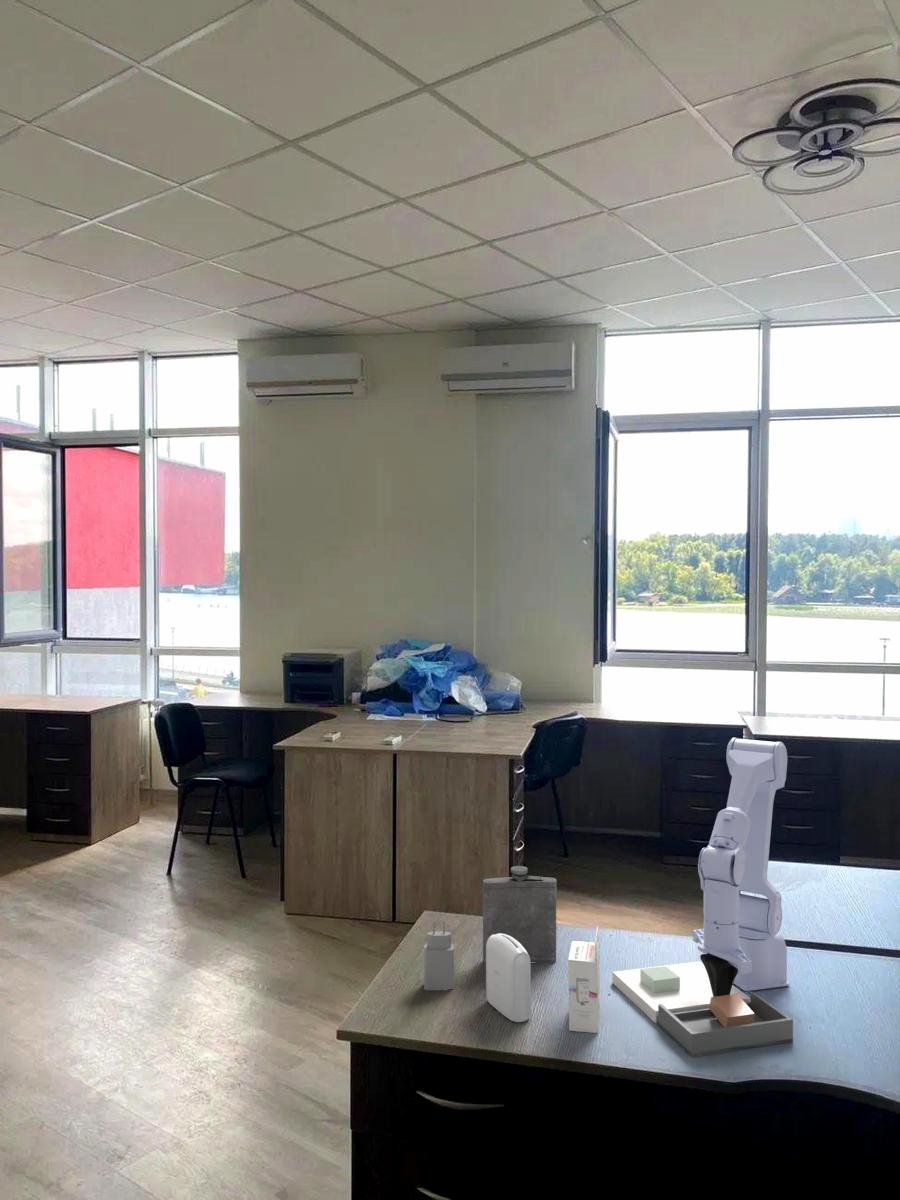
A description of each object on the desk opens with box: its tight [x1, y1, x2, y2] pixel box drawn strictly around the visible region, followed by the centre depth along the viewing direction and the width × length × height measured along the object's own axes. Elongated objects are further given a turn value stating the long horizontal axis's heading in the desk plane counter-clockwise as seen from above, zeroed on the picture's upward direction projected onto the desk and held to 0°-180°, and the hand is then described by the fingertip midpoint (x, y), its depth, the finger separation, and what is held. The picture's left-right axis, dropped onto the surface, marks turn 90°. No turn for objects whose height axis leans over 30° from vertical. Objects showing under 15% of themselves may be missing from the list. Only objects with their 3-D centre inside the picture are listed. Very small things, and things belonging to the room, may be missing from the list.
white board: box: [612, 960, 750, 1024], centre depth 156 cm, size 18×16×2 cm
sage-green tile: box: [639, 965, 680, 993], centre depth 156 cm, size 5×5×2 cm
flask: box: [482, 865, 557, 965], centre depth 171 cm, size 4×14×18 cm, turn 94°
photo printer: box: [485, 933, 532, 1023], centre depth 151 cm, size 10×4×12 cm, turn 26°
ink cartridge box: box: [567, 925, 601, 1034], centre depth 147 cm, size 9×5×15 cm, turn 168°
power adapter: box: [423, 919, 455, 991], centre depth 160 cm, size 3×5×12 cm, turn 91°
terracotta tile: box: [709, 994, 754, 1027], centre depth 146 cm, size 5×5×2 cm
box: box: [655, 991, 794, 1058], centre depth 143 cm, size 18×11×4 cm, turn 106°
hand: (721, 999), depth 149 cm, fingers closed
